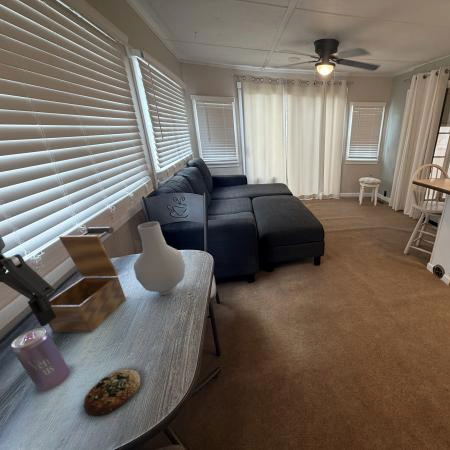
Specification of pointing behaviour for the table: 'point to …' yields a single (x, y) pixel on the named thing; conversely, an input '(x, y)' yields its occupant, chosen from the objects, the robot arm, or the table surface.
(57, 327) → the chest
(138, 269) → the vase
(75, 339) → the table surface
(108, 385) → the bread roll
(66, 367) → the beverage can
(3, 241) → the robot arm
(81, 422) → the table surface
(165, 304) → the table surface
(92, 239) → the chest lid
